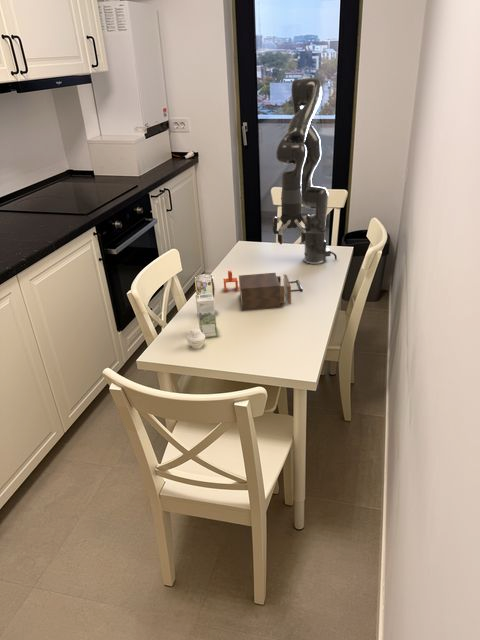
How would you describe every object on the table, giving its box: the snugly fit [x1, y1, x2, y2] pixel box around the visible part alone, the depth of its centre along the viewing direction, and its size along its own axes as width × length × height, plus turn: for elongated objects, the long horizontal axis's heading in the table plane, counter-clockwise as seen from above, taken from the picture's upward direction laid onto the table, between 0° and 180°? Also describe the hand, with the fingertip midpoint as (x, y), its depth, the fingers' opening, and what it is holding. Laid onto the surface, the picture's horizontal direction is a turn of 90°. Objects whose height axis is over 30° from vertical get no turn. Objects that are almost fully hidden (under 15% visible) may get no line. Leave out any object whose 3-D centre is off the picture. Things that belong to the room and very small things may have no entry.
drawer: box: [276, 274, 304, 305], centre depth 194 cm, size 18×11×7 cm, turn 96°
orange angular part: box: [223, 270, 239, 293], centre depth 204 cm, size 6×3×8 cm, turn 96°
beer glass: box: [194, 273, 217, 315], centre depth 184 cm, size 7×7×15 cm
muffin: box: [186, 327, 206, 350], centre depth 166 cm, size 6×6×7 cm
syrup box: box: [195, 293, 218, 339], centre depth 172 cm, size 6×6×14 cm
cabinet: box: [238, 272, 281, 311], centre depth 193 cm, size 15×13×9 cm
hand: (291, 242), depth 192 cm, fingers open, 8 cm apart
